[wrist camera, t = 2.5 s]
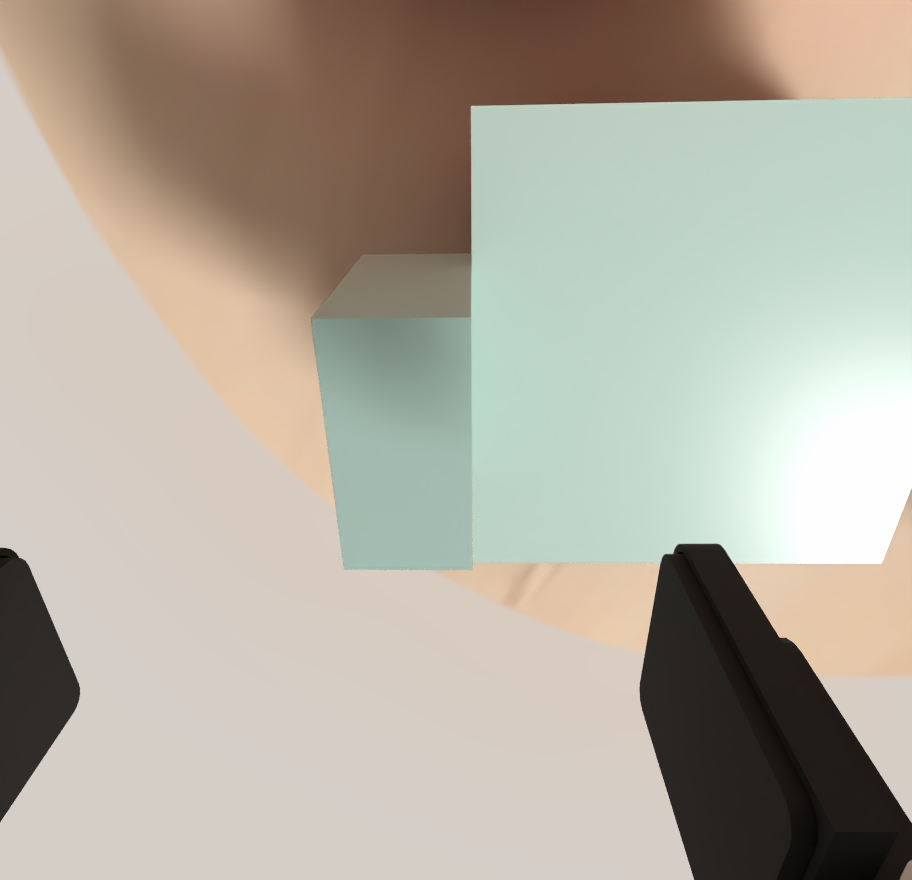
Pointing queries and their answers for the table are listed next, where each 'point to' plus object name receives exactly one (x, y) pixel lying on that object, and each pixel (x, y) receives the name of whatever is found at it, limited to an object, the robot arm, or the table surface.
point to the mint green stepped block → (638, 344)
